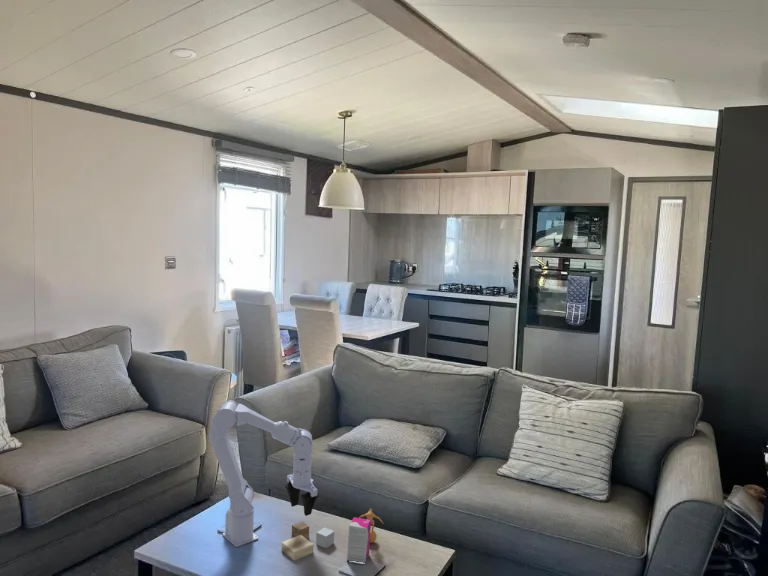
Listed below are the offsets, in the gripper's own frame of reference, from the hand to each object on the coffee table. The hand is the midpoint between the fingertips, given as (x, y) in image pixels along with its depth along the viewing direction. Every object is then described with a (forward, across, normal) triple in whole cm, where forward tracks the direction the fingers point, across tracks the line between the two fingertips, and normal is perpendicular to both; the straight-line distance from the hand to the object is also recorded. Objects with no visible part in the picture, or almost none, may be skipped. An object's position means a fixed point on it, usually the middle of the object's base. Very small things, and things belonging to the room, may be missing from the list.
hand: (301, 509), depth 178 cm
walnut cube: (+9, 0, 0) cm, 9 cm away
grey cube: (+9, -8, -4) cm, 13 cm away
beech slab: (+10, -6, +5) cm, 13 cm away
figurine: (+9, -17, -15) cm, 25 cm away
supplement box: (+9, -21, -7) cm, 24 cm away
